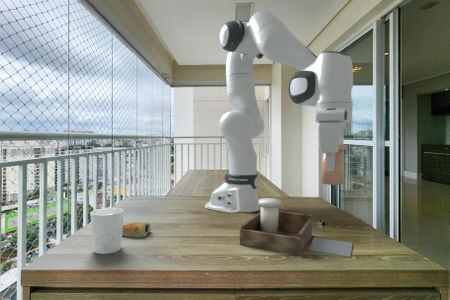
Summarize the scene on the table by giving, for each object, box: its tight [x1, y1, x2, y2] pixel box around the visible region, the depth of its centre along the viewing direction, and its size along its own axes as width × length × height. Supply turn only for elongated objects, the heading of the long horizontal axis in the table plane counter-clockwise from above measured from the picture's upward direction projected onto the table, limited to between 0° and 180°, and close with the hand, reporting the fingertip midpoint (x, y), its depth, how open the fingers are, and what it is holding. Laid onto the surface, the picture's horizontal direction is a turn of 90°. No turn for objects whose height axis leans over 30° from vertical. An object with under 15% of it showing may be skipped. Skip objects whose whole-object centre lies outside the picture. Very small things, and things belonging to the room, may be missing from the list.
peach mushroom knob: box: [321, 143, 347, 186], centre depth 76 cm, size 6×6×10 cm
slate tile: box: [307, 237, 354, 259], centre depth 78 cm, size 10×10×1 cm
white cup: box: [90, 207, 124, 255], centre depth 77 cm, size 8×8×10 cm
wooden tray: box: [239, 208, 313, 256], centre depth 83 cm, size 16×16×7 cm
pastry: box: [122, 221, 152, 239], centre depth 89 cm, size 9×7×4 cm
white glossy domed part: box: [258, 197, 282, 234], centre depth 87 cm, size 6×6×10 cm
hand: (332, 169), depth 77 cm, fingers closed on peach mushroom knob, 6 cm apart
